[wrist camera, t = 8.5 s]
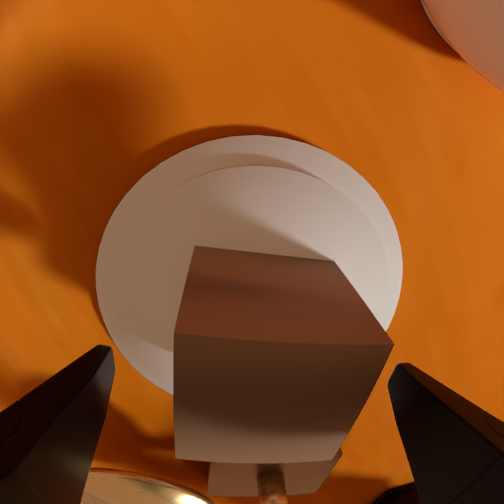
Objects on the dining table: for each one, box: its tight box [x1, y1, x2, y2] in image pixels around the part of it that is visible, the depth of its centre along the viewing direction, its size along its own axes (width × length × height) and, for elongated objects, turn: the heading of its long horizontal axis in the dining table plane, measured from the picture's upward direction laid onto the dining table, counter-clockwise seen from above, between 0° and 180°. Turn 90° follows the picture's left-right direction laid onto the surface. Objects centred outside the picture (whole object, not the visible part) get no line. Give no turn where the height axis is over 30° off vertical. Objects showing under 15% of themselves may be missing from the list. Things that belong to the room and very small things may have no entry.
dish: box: [96, 135, 403, 395], centre depth 13 cm, size 13×13×1 cm
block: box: [173, 246, 394, 463], centre depth 10 cm, size 5×5×5 cm
